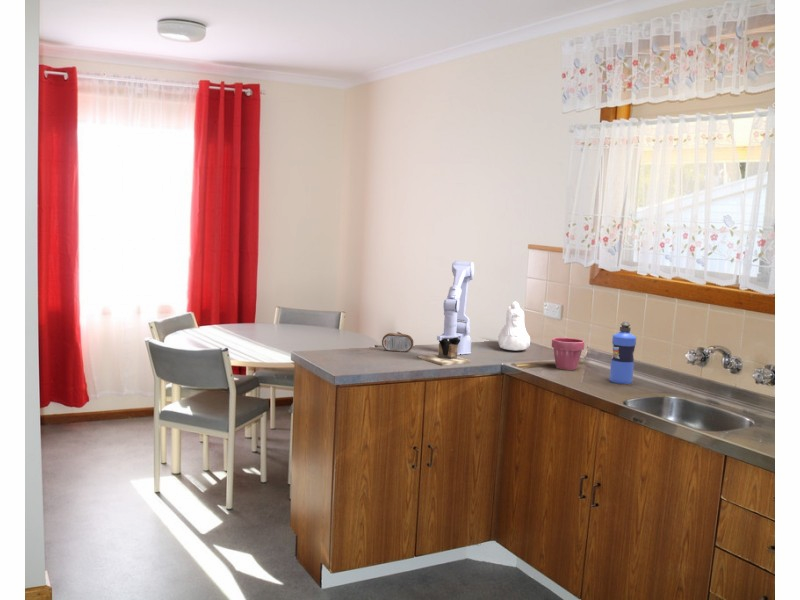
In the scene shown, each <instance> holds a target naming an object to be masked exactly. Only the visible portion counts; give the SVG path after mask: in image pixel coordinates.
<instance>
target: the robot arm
mask: <svg viewBox="0 0 800 600" xmlns="http://www.w3.org/2000/svg"><path fill="white" fill-rule="evenodd" d="M451 272H452V275H453V283H452V285H451V286H450V287H449V289H448V293H447V297H446V299H444V301H443V315H444V320H443V321H444V323H443V333H441V334H439V335H437V336H436V341H438V342H439V343H440V344H441V347H442V351H443V355H446V356H447V355H448V348H449V344H455V345H458V351H457V356H459V355H460V354H461V355H471V354H472V352H471V349H472V339H471V336H470V335H469V334H470V332H471V319H470V318H469V316H468V315H466V310H467V301H468V291H469V285H470V282H471V281H472V280H473V279H474V277H475V276H474V275H475V263H474V262H473V261H459V260H453V262H452V264H451Z"/></svg>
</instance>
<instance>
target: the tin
mask: <svg viewBox="0 0 800 600" xmlns="http://www.w3.org/2000/svg"><path fill="white" fill-rule="evenodd" d="M381 345H382V348H383V349H385V350H386V351H388V352H397V351H398V352H397V353H399V352H400V351H401V352H400V353H407V352H409V351H411V350H412V348H413V347H414V339H413V338H412V336H410V335H409V334H406V333H404V334H403V333H394V332H393V333H391V332H390V333H389V332H388V333H386V334H385V335H384V336H383V337H382V340H381Z"/></svg>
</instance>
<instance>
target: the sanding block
mask: <svg viewBox="0 0 800 600" xmlns="http://www.w3.org/2000/svg"><path fill="white" fill-rule="evenodd" d="M457 351H458V345H455V344H449V348H448V355H447V356H446V355H443V351H442V347H441V344H440V342H439V343H438V353H437V354H438V356H440V357H444V358H448V359H455V358H457V357H458V355H457Z"/></svg>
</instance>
